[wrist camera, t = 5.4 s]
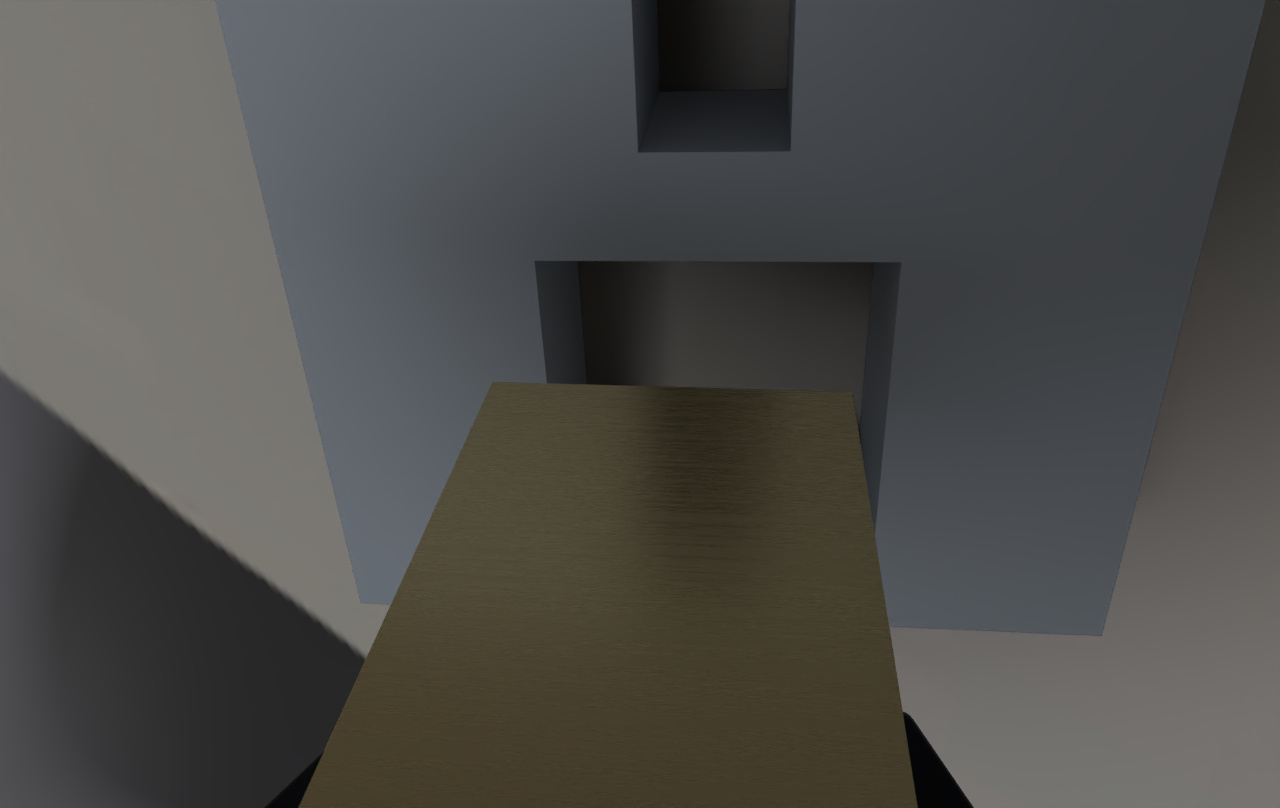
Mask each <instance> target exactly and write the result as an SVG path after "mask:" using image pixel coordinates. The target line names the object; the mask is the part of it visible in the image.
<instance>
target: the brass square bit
mask: <svg viewBox="0 0 1280 808" xmlns="http://www.w3.org/2000/svg"><path fill="white" fill-rule="evenodd" d="M298 808H918V806H917V800H916V794H915V787H914V781H913V775H912V768H911V762H910V756H909V749H908V743H907V736H906V730H905V724H904V717H903V711H902V705H901V698H900V692H899V686H898V679H897V673H896V667H895V660H894V654H893V647H892V641H891V635H890V628H889V622H888V616H887V609H886V603H885V597H884V590H883V584H882V577H881V571H880V565H879V558H878V552H877V546H876V539H875V533H874V527H873V520H872V514H871V507H870V501H869V495H868V488H867V482H866V476H865V469H864V463H863V457H862V450H861V444H860V438H859V431H858V425H857V418H856V412H855V406H854V399H853V393H852V392H838V391H803V390H767V389H731V388H695V387H660V386H624V385H588V384H552V383H517V382H492V384H491V386H490V388H489V390H488V393H487V395H486V397H485V399H484V401H483V404H482V406H481V408H480V410H479V412H478V414H477V417H476V419H475V421H474V423H473V425H472V428H471V430H470V432H469V434H468V436H467V439H466V441H465V443H464V445H463V447H462V450H461V452H460V454H459V456H458V458H457V461H456V463H455V465H454V467H453V469H452V472H451V474H450V476H449V478H448V480H447V483H446V485H445V487H444V489H443V491H442V493H441V496H440V498H439V500H438V502H437V504H436V507H435V509H434V511H433V513H432V515H431V518H430V520H429V522H428V524H427V526H426V529H425V531H424V533H423V535H422V537H421V540H420V542H419V544H418V546H417V548H416V551H415V553H414V555H413V557H412V559H411V562H410V564H409V566H408V568H407V570H406V573H405V575H404V577H403V579H402V581H401V583H400V586H399V588H398V590H397V592H396V594H395V597H394V599H393V601H392V603H391V605H390V608H389V610H388V612H387V614H386V616H385V619H384V621H383V623H382V625H381V627H380V630H379V632H378V634H377V636H376V638H375V641H374V643H373V645H372V647H371V649H370V652H369V654H368V656H367V658H366V660H365V662H364V665H363V667H362V669H361V671H360V673H359V676H358V678H357V680H356V682H355V684H354V687H353V689H352V691H351V693H350V696H349V698H348V700H347V702H346V704H345V706H344V709H343V711H342V713H341V715H340V717H339V720H338V722H337V724H336V726H335V729H334V731H333V733H332V735H331V737H330V739H329V742H328V744H327V746H326V749H325V750H324V752H323V755H322V757H321V759H320V761H319V763H318V766H317V768H316V770H315V772H314V774H313V777H312V779H311V781H310V783H309V785H308V788H307V790H306V792H305V794H304V796H303V799H302V801H301V803H300V805H299V807H298Z"/></svg>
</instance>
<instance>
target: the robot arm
mask: <svg viewBox="0 0 1280 808" xmlns="http://www.w3.org/2000/svg"><path fill="white" fill-rule="evenodd" d="M903 717H904V724H905V730H906V736H907V743H908V749H909V756H910V762H911V768H912V775H913V781H914V787H915V794H916V800H917V806H918V808H974V807H973V806H972V804H971V803H970V802H969V800H968V799H967V797H966V796H965V794H964V793H963V791H962V790H961V788H960V787H959V785H958V784H957V783H956V781H955V780H954V778H953V777H952V775H951V774H950V772H949V771H948V769H947V768H946V767H945V765H944V764H943V762H942V761H941V759H940V758H939V756H938V755H937V753H936V752H935V750H934V749H933V748H932V746H931V745H930V743H929V742H928V740H927V739H926V737H925V736H924V734H923V733H922V732H921V730H920V729H919V727H918V726H917V724H916V723H915V721H914V720H913V719H912V717H911V716H910V715H909V714H907V713H905V712H903ZM323 752H324V751H323ZM323 752H321V753H320V754H319V756H317V757H316V758H315V759H314V760H313V761H312V762H311V763H310V764H309V765H308V766H307V767H306V768H305V769H304V770H303V771H302V772H301V773H299V774H298V775H297V777H295V778H294V779H293V780H292V781H291V782H290V783H289V784H288V785H287V786H286V787H285V788H284V789H283V790H282V791H281V792H280V793H279V794H278V795H276V796H275V797H274V798H273V799H272V800H271V801H270V802H269V803H268V804H267V805H266V806H265V807H264V808H298V807H299V805H300V803H301V801H302V799H303V796H304V794H305V792H306V790H307V788H308V785H309V783H310V781H311V779H312V777H313V774H314V772H315V770H316V768H317V766H318V763H319V761H320V759H321V757H322V755H323Z"/></svg>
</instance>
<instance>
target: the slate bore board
mask: <svg viewBox="0 0 1280 808" xmlns="http://www.w3.org/2000/svg"><path fill="white" fill-rule="evenodd" d="M215 1H216V5H217V10H218V14H219V18H220V22H221V26H222V30H223V34H224V39H225V43H226V47H227V51H228V55H229V59H230V63H231V68H232V72H233V76H234V80H235V84H236V88H237V93H238V97H239V101H240V105H241V109H242V113H243V117H244V122H245V126H246V130H247V134H248V138H249V142H250V146H251V151H252V155H253V159H254V163H255V167H256V171H257V175H258V180H259V184H260V188H261V192H262V196H263V200H264V204H265V209H266V213H267V217H268V221H269V225H270V229H271V233H272V238H273V242H274V246H275V250H276V254H277V258H278V262H279V267H280V271H281V275H282V279H283V283H284V287H285V291H286V296H287V300H288V304H289V308H290V312H291V316H292V320H293V325H294V329H295V333H296V337H297V341H298V345H299V350H300V354H301V358H302V362H303V366H304V370H305V374H306V379H307V383H308V387H309V391H310V395H311V399H312V403H313V408H314V412H315V416H316V420H317V424H318V428H319V432H320V437H321V441H322V445H323V449H324V453H325V457H326V461H327V466H328V470H329V474H330V478H331V482H332V486H333V490H334V495H335V499H336V503H337V507H338V511H339V515H340V519H341V524H342V528H343V532H344V536H345V540H346V544H347V548H348V553H349V557H350V561H351V565H352V569H353V573H354V577H355V582H356V586H357V590H358V594H359V598H360V602H361V603H365V604H388V605H391V603H392V601H393V599H394V597H395V594H396V592H397V590H398V588H399V586H400V583H401V581H402V579H403V577H404V575H405V573H406V570H407V568H408V566H409V564H410V562H411V559H412V557H413V555H414V553H415V551H416V548H417V546H418V544H419V542H420V540H421V537H422V535H423V533H424V531H425V529H426V526H427V524H428V522H429V520H430V518H431V515H432V513H433V511H434V509H435V507H436V504H437V502H438V500H439V498H440V496H441V493H442V491H443V489H444V487H445V485H446V483H447V480H448V478H449V476H450V474H451V472H452V469H453V467H454V465H455V463H456V461H457V458H458V456H459V454H460V452H461V450H462V447H463V445H464V443H465V441H466V439H467V436H468V434H469V432H470V430H471V428H472V425H473V423H474V421H475V419H476V417H477V414H478V412H479V410H480V408H481V406H482V404H483V401H484V399H485V397H486V395H487V393H488V390H489V388H490V386H491V384H492V382H517V383H552V384H587V377H586V364H585V351H584V338H583V326H582V313H581V300H580V288H579V275H578V262H577V261H706V262H874V264H873V276H872V288H871V300H870V313H869V325H868V337H867V349H866V361H865V373H864V386H863V398H862V410H861V422H860V434H859V438H860V444H861V450H862V457H863V463H864V469H865V476H866V482H867V488H868V495H869V501H870V507H871V514H872V520H873V527H874V533H875V539H876V546H877V552H878V558H879V565H880V571H881V577H882V584H883V590H884V597H885V603H886V609H887V616H888V622H889V627H908V628H931V629H953V630H976V631H999V632H1021V633H1044V634H1066V635H1089V636H1102V632H1103V628H1104V624H1105V621H1106V617H1107V613H1108V609H1109V605H1110V601H1111V597H1112V593H1113V590H1114V586H1115V582H1116V578H1117V574H1118V570H1119V566H1120V563H1121V559H1122V555H1123V551H1124V547H1125V543H1126V539H1127V535H1128V532H1129V528H1130V524H1131V520H1132V516H1133V512H1134V508H1135V505H1136V501H1137V497H1138V493H1139V489H1140V485H1141V481H1142V477H1143V474H1144V470H1145V466H1146V462H1147V458H1148V454H1149V450H1150V447H1151V443H1152V439H1153V435H1154V431H1155V427H1156V423H1157V419H1158V416H1159V412H1160V408H1161V404H1162V400H1163V396H1164V392H1165V389H1166V385H1167V381H1168V377H1169V373H1170V369H1171V365H1172V361H1173V358H1174V354H1175V350H1176V346H1177V342H1178V338H1179V334H1180V331H1181V327H1182V323H1183V319H1184V315H1185V311H1186V307H1187V303H1188V300H1189V296H1190V292H1191V288H1192V284H1193V280H1194V276H1195V273H1196V269H1197V265H1198V261H1199V257H1200V253H1201V249H1202V245H1203V242H1204V238H1205V234H1206V230H1207V226H1208V222H1209V218H1210V215H1211V211H1212V207H1213V203H1214V199H1215V195H1216V191H1217V187H1218V184H1219V180H1220V176H1221V172H1222V168H1223V164H1224V160H1225V157H1226V153H1227V149H1228V145H1229V141H1230V137H1231V133H1232V129H1233V126H1234V122H1235V118H1236V114H1237V110H1238V106H1239V102H1240V99H1241V95H1242V91H1243V87H1244V83H1245V79H1246V75H1247V71H1248V68H1249V64H1250V60H1251V56H1252V52H1253V48H1254V44H1255V41H1256V37H1257V33H1258V29H1259V25H1260V21H1261V17H1262V13H1263V10H1264V6H1265V2H1266V0H790V17H789V48H788V80H787V90H726V91H660V75H659V43H658V11H657V0H215Z"/></svg>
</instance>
